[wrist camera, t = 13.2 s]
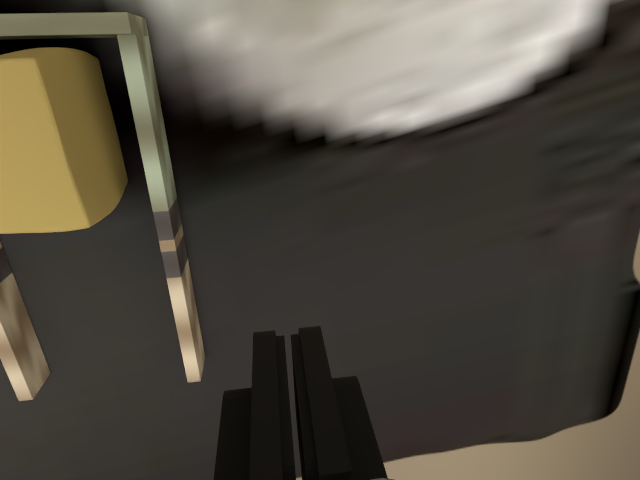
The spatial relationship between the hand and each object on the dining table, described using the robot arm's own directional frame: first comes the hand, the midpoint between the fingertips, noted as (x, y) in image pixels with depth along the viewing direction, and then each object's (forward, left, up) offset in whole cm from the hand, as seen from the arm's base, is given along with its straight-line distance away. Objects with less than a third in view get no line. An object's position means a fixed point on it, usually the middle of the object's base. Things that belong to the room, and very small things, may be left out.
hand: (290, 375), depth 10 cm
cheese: (-3, -17, -27) cm, 32 cm away
